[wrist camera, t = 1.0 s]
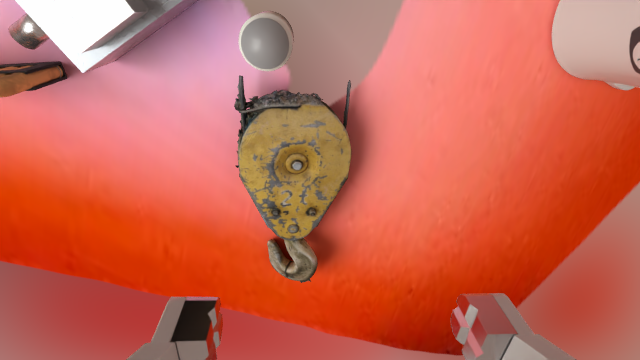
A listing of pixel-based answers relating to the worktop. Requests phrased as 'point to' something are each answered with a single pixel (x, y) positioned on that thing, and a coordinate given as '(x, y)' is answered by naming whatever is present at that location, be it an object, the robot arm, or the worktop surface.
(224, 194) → the worktop surface
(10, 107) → the worktop surface
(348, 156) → the pulley block
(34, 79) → the ammunition clip
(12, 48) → the worktop surface
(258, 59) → the white domed cylinder
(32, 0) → the motor
